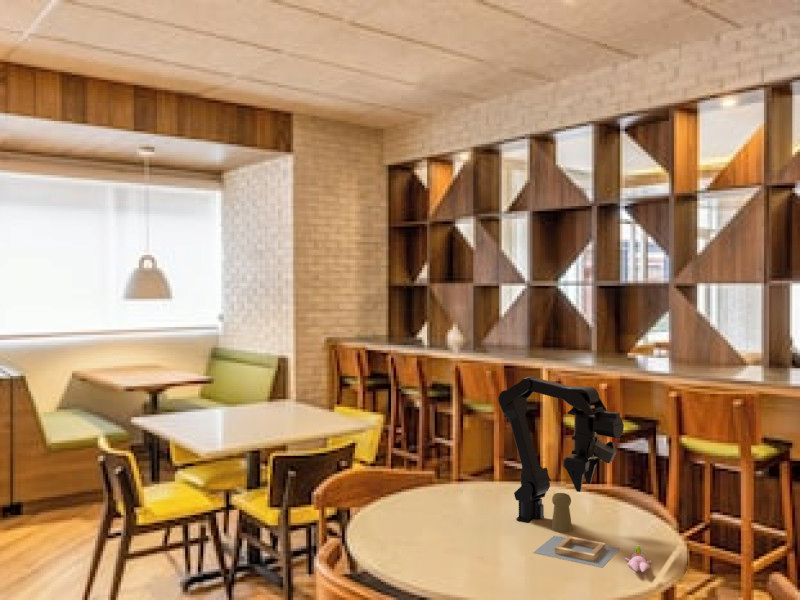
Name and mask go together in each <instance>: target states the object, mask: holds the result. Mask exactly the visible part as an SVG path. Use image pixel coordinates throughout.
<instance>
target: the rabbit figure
mask: <svg viewBox="0 0 800 600" xmlns="http://www.w3.org/2000/svg"><path fill="white" fill-rule="evenodd" d="M624 560H625V561H627V567H629V568H630V569H631V570H633V571H634V572H635V573H637V572H641V573H645V572H646V571H647V570H649V569H650V568H651V565H650V563H652V560H651V559H650V560H646V556H645V555H644V553H643V552H642V549H641V546H640V545H637V546H636V548H635V551H634V552H632V553H631V556H630V558H629V557H624Z"/></svg>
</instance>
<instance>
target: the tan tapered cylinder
mask: <svg viewBox="0 0 800 600" xmlns="http://www.w3.org/2000/svg"><path fill="white" fill-rule="evenodd" d="M551 501H552V504H553V505H554V506H553V513H552V522H551V526H550V527H551V530H552V531H553V532H555V533H561V534H566V533H571V532H573V525H572V519H571V511H570V506H571V504H572V499H571V496H570V495H569V494H568V493H565V492H557V493H554V494H553V496H552V499H551Z"/></svg>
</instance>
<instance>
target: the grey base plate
mask: <svg viewBox="0 0 800 600" xmlns="http://www.w3.org/2000/svg"><path fill="white" fill-rule="evenodd" d="M566 538H567V537H563V536H558V535H552V537H550V538H549V539H548V540H546V541H545V542H544V543H543V544H541V545H540V546H539V547H538V548H536V549H535V550H534V551H533V552H532V554H536V555H541V556H546V557H550V558H553V559H559V560H564V561H567V562H568V561H570V562H574V563H578V564H582V565H587V566H592V567H595V568H604V567H605V566H606V565H607V564H608V562H610V560H611V559H612V558H613V557H614V556H615V554H617V552H618V551H620V549H621V548H620V547H615V546H610V545H606V549H605V550H604V551H603V552H602V553H601V555H600V556H599V557H598V558H597V559H596V560H595V561H594V562H593V561H588V560H583V559H578V558H574V557H569V556H564V555H559V554H555V547H556V546H557V545H559V544H560V543H561V542H562V541H563V540H564V539H566ZM567 548H568V549H573V550H577V551H582V552H587V553H591V552H592V551H593V550H594V548H589V547H584V546H579V545H574V544H571V545H570V546H568V547H567Z"/></svg>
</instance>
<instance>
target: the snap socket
mask: <svg viewBox="0 0 800 600" xmlns="http://www.w3.org/2000/svg"><path fill="white" fill-rule="evenodd" d="M565 538H566V539H564V540H563V541H562V542H561V543H560V544H559V545H557V546H556V547H555V554H559V555H564V556H569V557H574V558H578V559H583V560H588V561H593V562H594V561H595V560H596V559H597V558H598V557H599V556H600V555H601V553H602V552H603V551H604V550H605V549H606V546H607V544H606V542H601V541H595V540H592V539H591V540H590V539H586V538H580V537H577V536H576V537H574V536H570V535H568V536H567V537H565ZM571 544H574V545H579V546H584V547H589V548H594V550H593V551H592V552H591V553H587V552H582V551H577V550H573V549H568V548H567V547H568V546H570V545H571Z"/></svg>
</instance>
